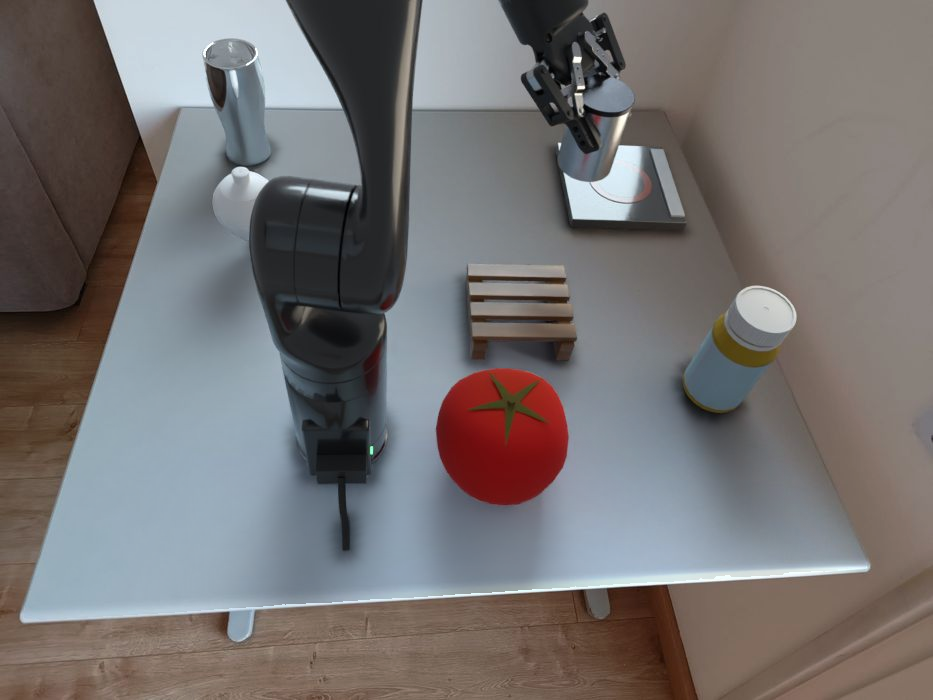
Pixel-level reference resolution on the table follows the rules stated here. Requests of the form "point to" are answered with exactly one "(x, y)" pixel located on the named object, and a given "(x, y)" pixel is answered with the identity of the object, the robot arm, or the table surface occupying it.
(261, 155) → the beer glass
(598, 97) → the metal canister
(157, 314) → the table surface
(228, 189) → the spinning top
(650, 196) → the stove
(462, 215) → the table surface
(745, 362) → the bottle
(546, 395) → the tomato
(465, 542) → the table surface
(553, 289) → the wooden pallet
